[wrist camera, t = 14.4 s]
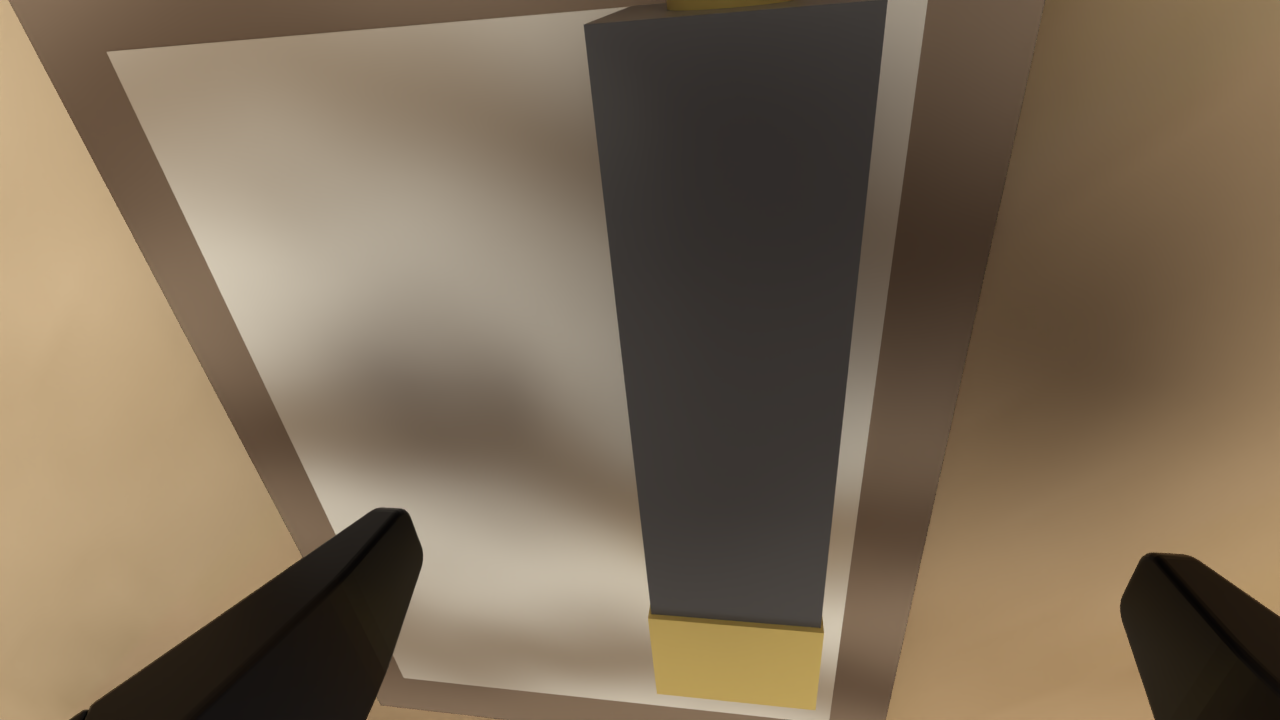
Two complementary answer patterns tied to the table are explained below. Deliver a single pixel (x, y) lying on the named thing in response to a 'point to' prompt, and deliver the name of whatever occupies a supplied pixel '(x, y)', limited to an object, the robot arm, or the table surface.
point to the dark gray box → (736, 314)
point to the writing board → (514, 309)
